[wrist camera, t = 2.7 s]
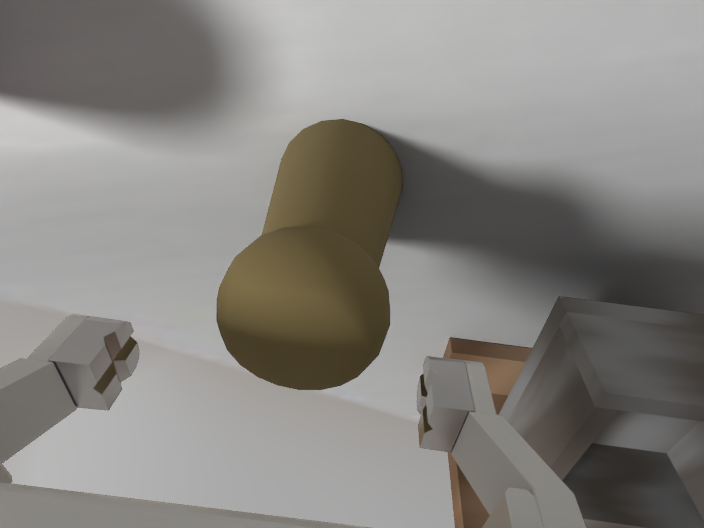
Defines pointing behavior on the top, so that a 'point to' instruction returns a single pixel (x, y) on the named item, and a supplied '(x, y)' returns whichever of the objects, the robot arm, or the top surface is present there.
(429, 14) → the top surface
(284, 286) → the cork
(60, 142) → the top surface
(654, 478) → the cup bracket
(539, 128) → the top surface
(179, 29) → the top surface
